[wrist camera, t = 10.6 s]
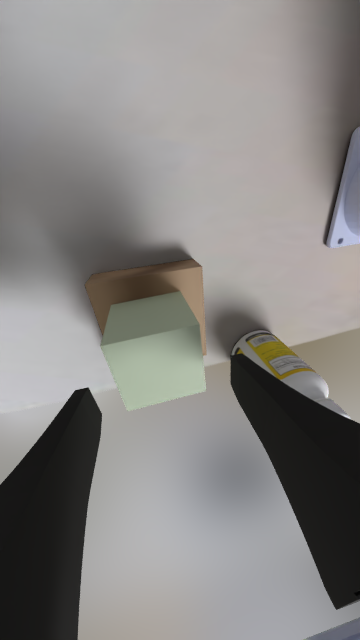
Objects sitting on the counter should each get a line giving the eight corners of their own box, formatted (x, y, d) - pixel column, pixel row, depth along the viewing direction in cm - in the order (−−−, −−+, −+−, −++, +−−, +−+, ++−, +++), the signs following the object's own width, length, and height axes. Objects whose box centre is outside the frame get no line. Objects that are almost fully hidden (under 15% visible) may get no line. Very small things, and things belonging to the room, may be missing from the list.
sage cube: (180, 291, 14) (199, 324, 10) (187, 345, 17) (206, 390, 13) (111, 304, 14) (100, 346, 10) (129, 359, 16) (127, 411, 12)
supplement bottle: (249, 374, 24) (309, 462, 15) (220, 354, 22) (274, 446, 13) (284, 344, 23) (371, 422, 14) (258, 319, 20) (344, 396, 12)
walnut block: (192, 257, 16) (202, 266, 14) (197, 336, 20) (206, 354, 18) (93, 272, 16) (84, 284, 13) (119, 352, 19) (116, 373, 17)
